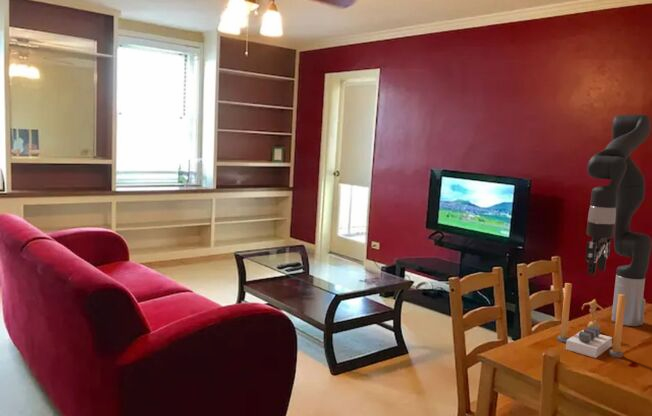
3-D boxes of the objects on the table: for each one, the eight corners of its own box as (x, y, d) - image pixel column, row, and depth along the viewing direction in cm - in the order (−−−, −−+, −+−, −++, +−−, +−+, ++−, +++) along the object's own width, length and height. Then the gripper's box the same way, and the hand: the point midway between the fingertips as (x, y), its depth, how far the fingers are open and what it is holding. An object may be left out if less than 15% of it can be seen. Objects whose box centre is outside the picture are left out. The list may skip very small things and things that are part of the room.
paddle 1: (581, 337, 172) (580, 331, 171) (591, 340, 170) (590, 333, 169) (579, 340, 171) (578, 333, 170) (589, 342, 169) (589, 336, 168)
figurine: (608, 334, 187) (612, 300, 185) (601, 338, 183) (604, 303, 181) (583, 327, 193) (587, 294, 191) (576, 331, 189) (579, 297, 187)
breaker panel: (582, 338, 182) (583, 329, 182) (611, 346, 176) (612, 337, 175) (565, 349, 172) (566, 339, 172) (595, 358, 166) (596, 348, 165)
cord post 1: (566, 338, 181) (571, 282, 179) (571, 342, 178) (576, 285, 175) (555, 338, 181) (560, 282, 179) (560, 342, 178) (565, 285, 175)
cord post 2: (618, 353, 170) (624, 293, 168) (624, 358, 167) (631, 297, 164) (606, 352, 170) (613, 293, 168) (612, 357, 167) (619, 296, 164)
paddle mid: (585, 334, 175) (585, 328, 174) (595, 337, 173) (595, 330, 172) (583, 337, 174) (583, 330, 173) (593, 339, 172) (593, 333, 171)
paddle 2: (590, 331, 178) (590, 325, 177) (600, 334, 176) (600, 327, 175) (588, 334, 177) (588, 327, 176) (598, 336, 175) (598, 330, 174)
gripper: (596, 217, 176) (591, 266, 178) (580, 221, 166) (574, 273, 168) (622, 220, 171) (616, 271, 173) (606, 224, 161) (600, 278, 163)
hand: (596, 272), depth 171 cm, fingers open, 8 cm apart
